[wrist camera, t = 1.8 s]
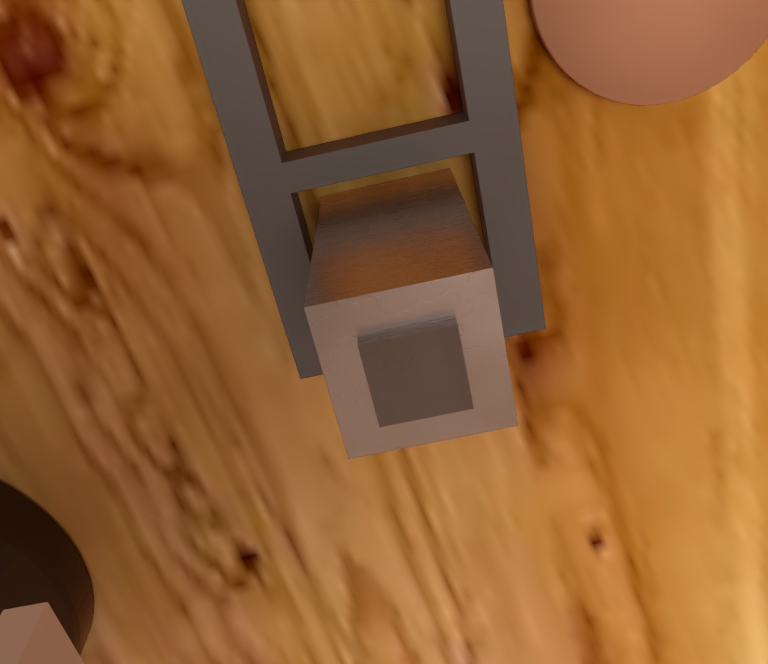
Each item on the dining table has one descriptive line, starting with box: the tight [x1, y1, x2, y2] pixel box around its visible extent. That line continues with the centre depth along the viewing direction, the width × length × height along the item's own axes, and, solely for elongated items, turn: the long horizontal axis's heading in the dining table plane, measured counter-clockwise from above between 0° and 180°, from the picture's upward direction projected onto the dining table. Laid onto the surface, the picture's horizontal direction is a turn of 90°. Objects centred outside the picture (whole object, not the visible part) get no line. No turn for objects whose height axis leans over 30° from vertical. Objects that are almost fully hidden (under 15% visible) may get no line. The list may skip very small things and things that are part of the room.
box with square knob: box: [304, 168, 518, 459], centre depth 22 cm, size 4×4×9 cm
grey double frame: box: [182, 0, 546, 379], centre depth 24 cm, size 9×14×2 cm, turn 12°
